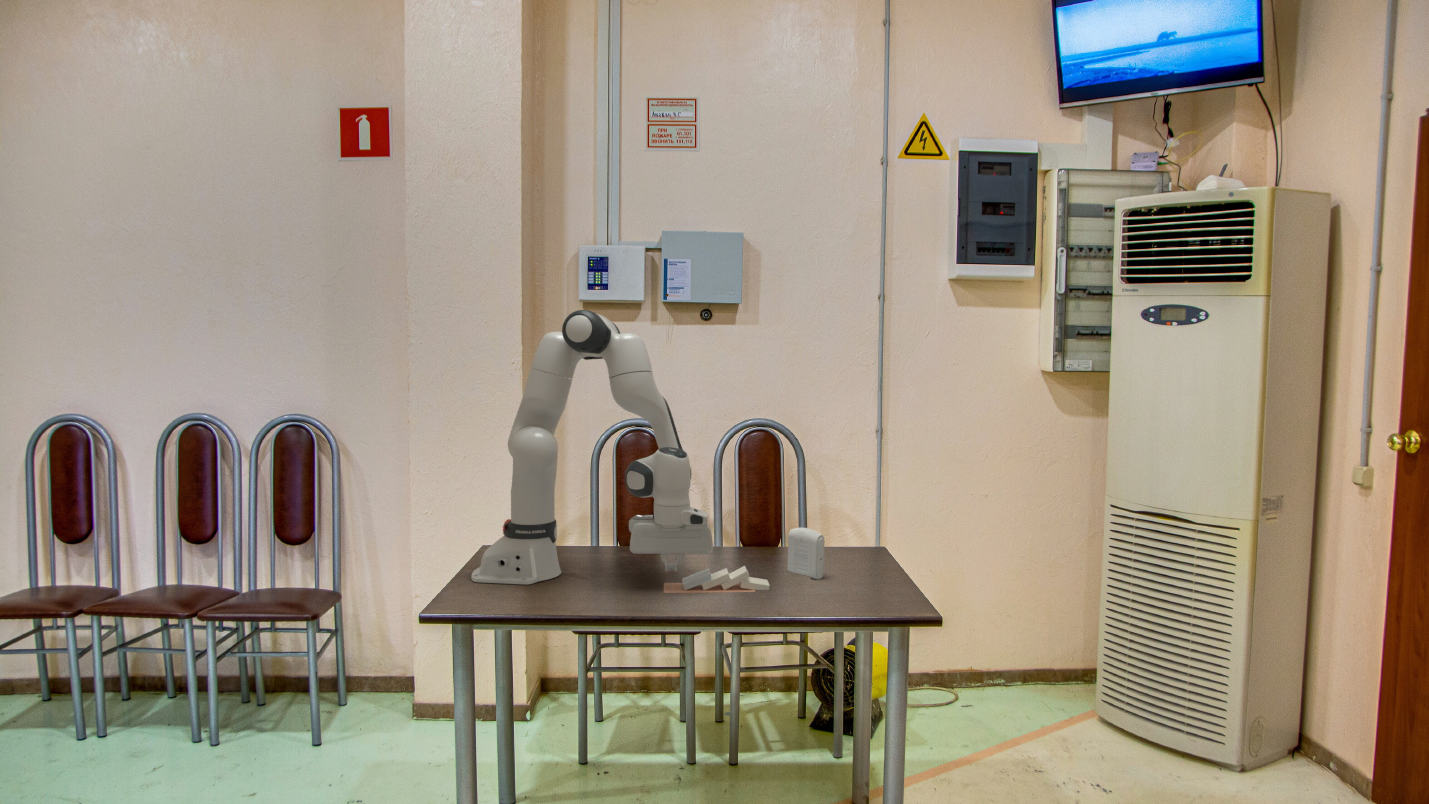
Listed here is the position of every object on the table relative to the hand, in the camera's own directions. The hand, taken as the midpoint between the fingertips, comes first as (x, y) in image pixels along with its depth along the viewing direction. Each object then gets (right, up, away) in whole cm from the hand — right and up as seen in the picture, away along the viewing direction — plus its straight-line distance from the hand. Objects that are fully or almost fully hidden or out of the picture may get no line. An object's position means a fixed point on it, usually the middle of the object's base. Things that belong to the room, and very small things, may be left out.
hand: (671, 571), depth 191 cm
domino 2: (+8, -3, +1) cm, 8 cm away
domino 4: (+17, -3, +1) cm, 17 cm away
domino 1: (+3, -3, +1) cm, 5 cm away
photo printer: (+34, -4, +14) cm, 38 cm away
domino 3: (+12, -4, +1) cm, 13 cm away
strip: (+9, -5, +1) cm, 10 cm away
